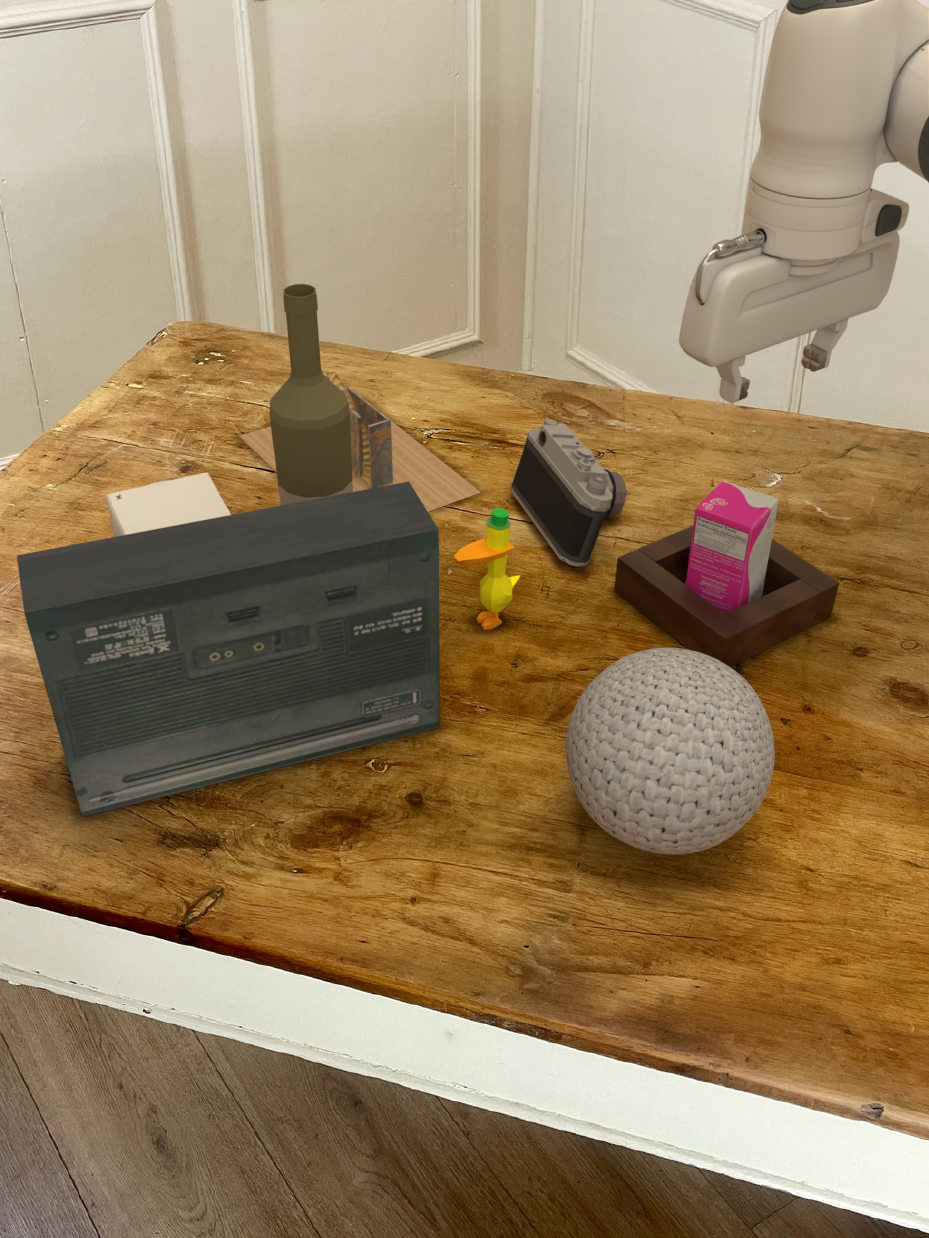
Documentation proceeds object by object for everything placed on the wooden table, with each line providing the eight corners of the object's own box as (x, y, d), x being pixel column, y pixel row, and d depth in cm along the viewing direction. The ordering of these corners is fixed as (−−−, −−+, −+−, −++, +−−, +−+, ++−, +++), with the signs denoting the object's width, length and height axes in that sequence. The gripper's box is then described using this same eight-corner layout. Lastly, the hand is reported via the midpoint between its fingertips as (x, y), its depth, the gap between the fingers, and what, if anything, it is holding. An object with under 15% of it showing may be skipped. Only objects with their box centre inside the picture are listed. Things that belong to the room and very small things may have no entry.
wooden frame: (723, 543, 121) (728, 510, 118) (831, 617, 112) (840, 582, 109) (613, 591, 114) (617, 557, 112) (718, 673, 105) (725, 638, 103)
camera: (637, 572, 119) (673, 486, 114) (562, 570, 116) (596, 480, 110) (573, 492, 131) (603, 410, 125) (503, 487, 127) (531, 402, 122)
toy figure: (464, 644, 108) (466, 535, 101) (446, 622, 110) (446, 514, 103) (528, 622, 111) (534, 514, 103) (509, 601, 113) (513, 494, 106)
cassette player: (413, 675, 105) (409, 481, 92) (439, 727, 100) (438, 529, 87) (72, 755, 97) (16, 555, 84) (82, 816, 92) (24, 613, 79)
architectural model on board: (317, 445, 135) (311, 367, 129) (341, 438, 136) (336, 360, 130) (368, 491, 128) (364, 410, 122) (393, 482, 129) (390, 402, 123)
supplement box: (706, 578, 116) (723, 477, 109) (762, 600, 114) (784, 498, 106) (678, 607, 112) (694, 506, 105) (736, 631, 110) (756, 528, 103)
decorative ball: (535, 863, 88) (545, 716, 79) (589, 731, 99) (604, 588, 90) (737, 922, 84) (773, 774, 75) (770, 778, 95) (806, 633, 86)
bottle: (370, 600, 113) (355, 300, 94) (299, 617, 111) (268, 314, 92) (347, 559, 118) (328, 267, 99) (278, 575, 116) (245, 280, 97)
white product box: (155, 690, 103) (126, 548, 94) (131, 630, 109) (101, 492, 100) (256, 661, 106) (238, 521, 97) (227, 604, 112) (207, 468, 103)
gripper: (732, 262, 83) (708, 434, 92) (925, 202, 92) (886, 365, 101) (671, 234, 88) (653, 402, 96) (861, 179, 96) (829, 337, 105)
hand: (774, 382), depth 99 cm, fingers open, 8 cm apart
